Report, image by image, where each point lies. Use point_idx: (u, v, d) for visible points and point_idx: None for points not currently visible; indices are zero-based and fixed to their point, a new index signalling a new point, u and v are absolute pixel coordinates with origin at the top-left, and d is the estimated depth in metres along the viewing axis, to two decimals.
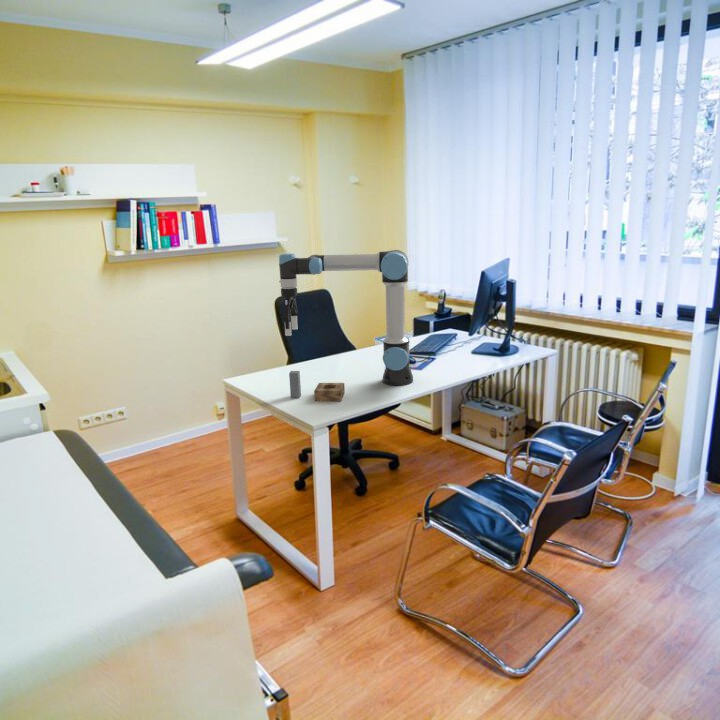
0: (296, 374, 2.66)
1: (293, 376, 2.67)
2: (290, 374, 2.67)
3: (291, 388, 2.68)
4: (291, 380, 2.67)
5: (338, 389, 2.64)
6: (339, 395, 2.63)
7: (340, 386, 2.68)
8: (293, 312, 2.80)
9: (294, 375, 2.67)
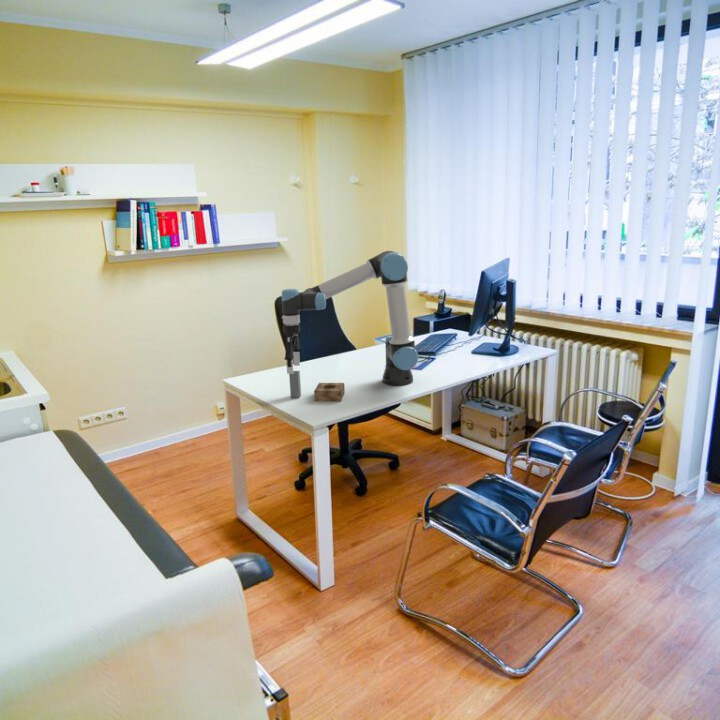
0: (296, 374, 2.66)
1: (293, 376, 2.67)
2: (290, 374, 2.67)
3: (291, 388, 2.68)
4: (291, 380, 2.67)
5: (338, 389, 2.64)
6: (339, 395, 2.63)
7: (340, 386, 2.68)
8: (295, 348, 2.71)
9: (294, 375, 2.67)
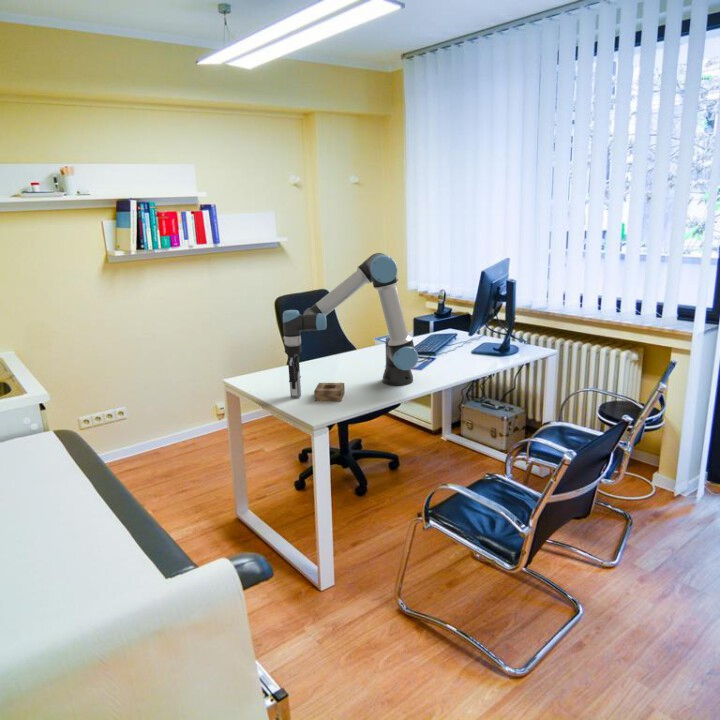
0: (296, 374, 2.66)
1: None
2: None
3: None
4: None
5: (338, 389, 2.64)
6: (339, 395, 2.63)
7: (340, 386, 2.68)
8: None
9: None
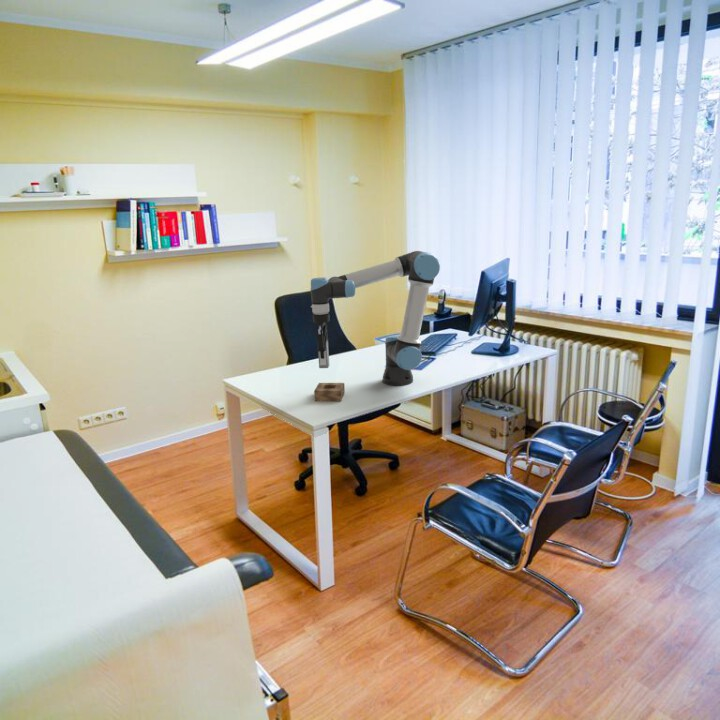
0: None
1: None
2: None
3: (319, 358, 2.63)
4: None
5: (338, 389, 2.64)
6: (339, 395, 2.63)
7: (340, 386, 2.68)
8: None
9: None
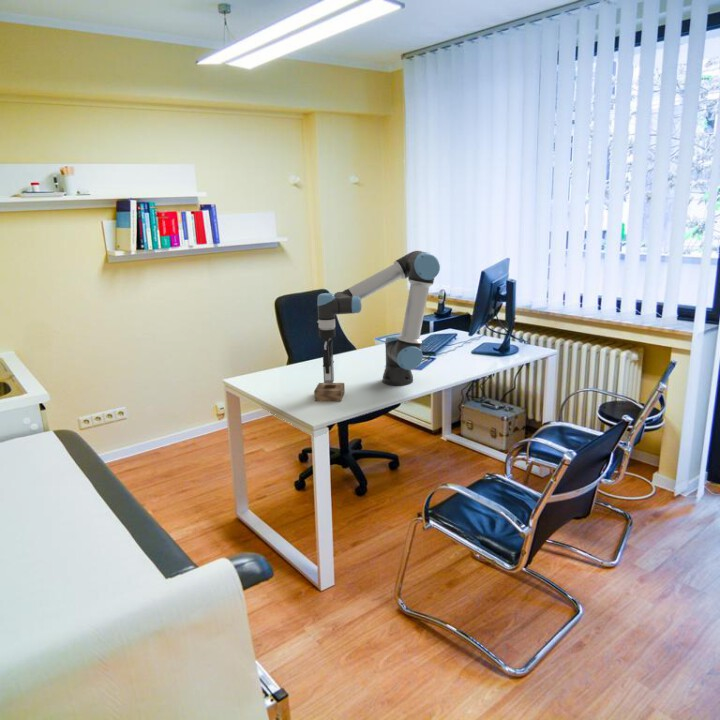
0: (330, 358, 2.63)
1: None
2: None
3: (324, 373, 2.65)
4: None
5: (338, 389, 2.64)
6: (339, 395, 2.63)
7: (340, 386, 2.68)
8: None
9: None
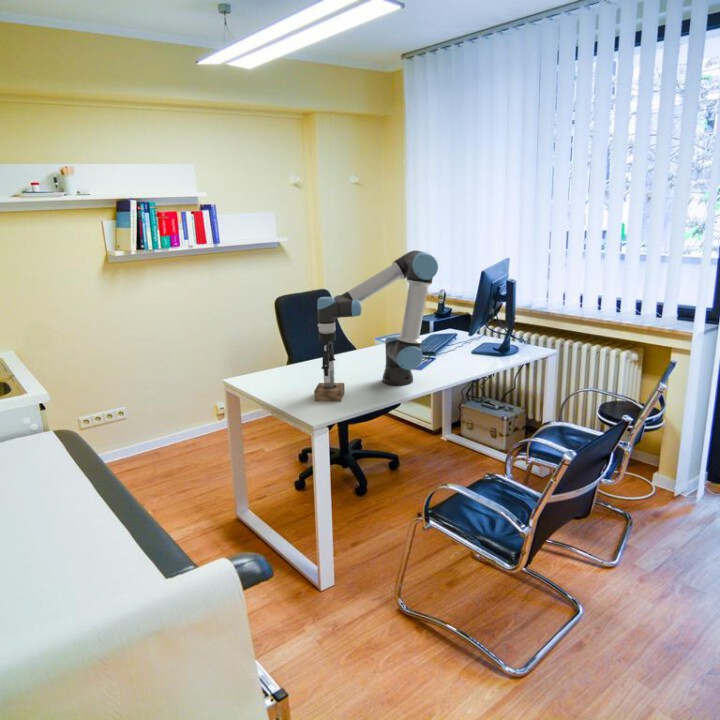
0: (331, 374, 2.65)
1: None
2: None
3: (325, 388, 2.67)
4: None
5: (338, 389, 2.64)
6: (339, 395, 2.63)
7: (340, 386, 2.68)
8: (330, 357, 2.70)
9: None
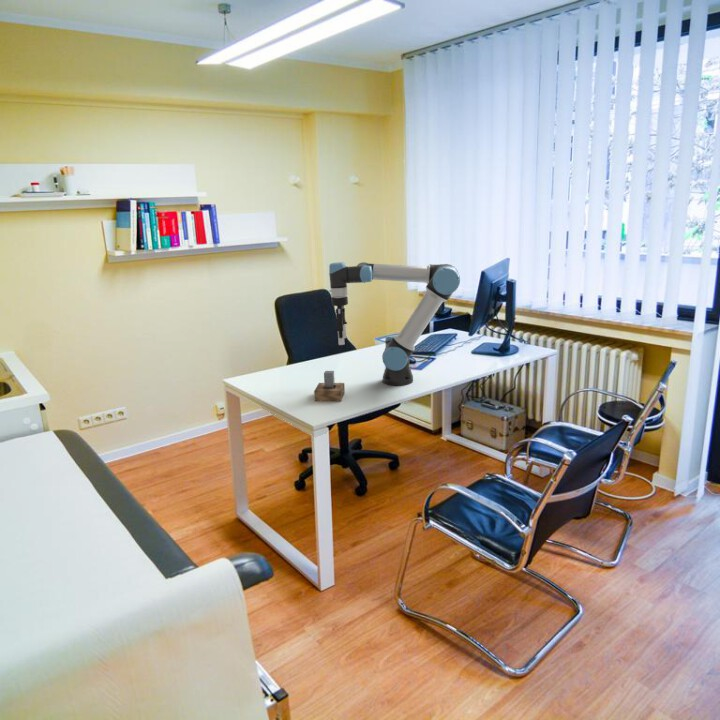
0: (331, 374, 2.65)
1: (328, 376, 2.65)
2: (325, 374, 2.65)
3: (325, 388, 2.67)
4: (326, 380, 2.66)
5: (338, 389, 2.64)
6: (339, 395, 2.63)
7: (340, 386, 2.68)
8: (342, 321, 2.79)
9: (329, 375, 2.65)
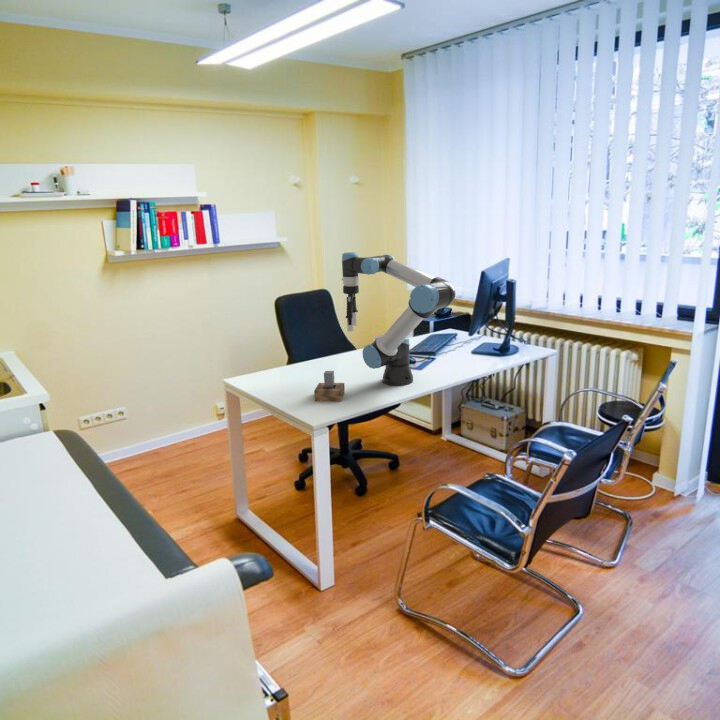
0: (331, 374, 2.65)
1: (328, 376, 2.65)
2: (325, 374, 2.65)
3: (325, 388, 2.67)
4: (326, 380, 2.66)
5: (338, 389, 2.64)
6: (339, 395, 2.63)
7: (340, 386, 2.68)
8: (353, 309, 2.90)
9: (329, 375, 2.65)
